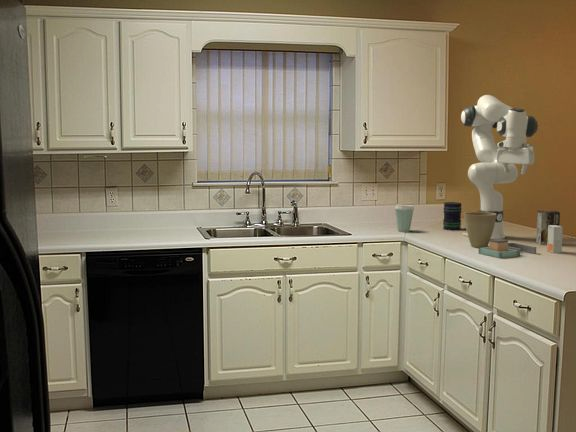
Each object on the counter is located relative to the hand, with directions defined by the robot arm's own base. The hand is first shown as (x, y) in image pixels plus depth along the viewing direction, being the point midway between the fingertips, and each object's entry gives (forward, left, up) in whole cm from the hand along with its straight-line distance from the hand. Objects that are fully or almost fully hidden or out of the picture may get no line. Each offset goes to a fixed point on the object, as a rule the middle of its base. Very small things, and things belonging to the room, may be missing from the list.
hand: (514, 173), depth 310 cm
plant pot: (-11, -10, -35) cm, 38 cm away
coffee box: (-2, +26, -35) cm, 44 cm away
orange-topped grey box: (+10, -18, -34) cm, 40 cm away
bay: (+8, -7, -35) cm, 37 cm away
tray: (+10, -18, -35) cm, 41 cm away
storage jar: (-63, +19, -35) cm, 75 cm away
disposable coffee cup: (-69, -10, -35) cm, 78 cm away
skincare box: (+16, +10, -35) cm, 40 cm away
